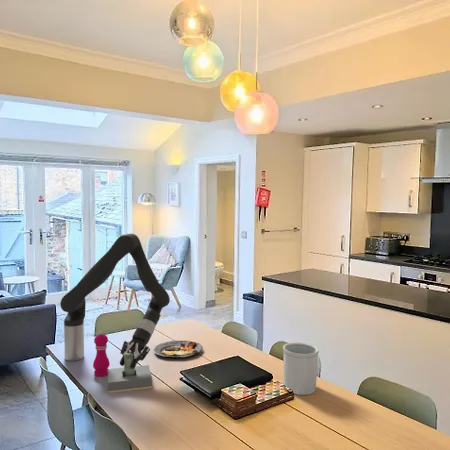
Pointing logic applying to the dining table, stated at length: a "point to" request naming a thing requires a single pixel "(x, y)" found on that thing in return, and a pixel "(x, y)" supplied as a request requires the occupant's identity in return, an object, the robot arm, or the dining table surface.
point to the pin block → (129, 379)
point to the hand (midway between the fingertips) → (126, 366)
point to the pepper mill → (101, 356)
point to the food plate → (178, 349)
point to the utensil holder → (300, 367)
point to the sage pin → (128, 364)
